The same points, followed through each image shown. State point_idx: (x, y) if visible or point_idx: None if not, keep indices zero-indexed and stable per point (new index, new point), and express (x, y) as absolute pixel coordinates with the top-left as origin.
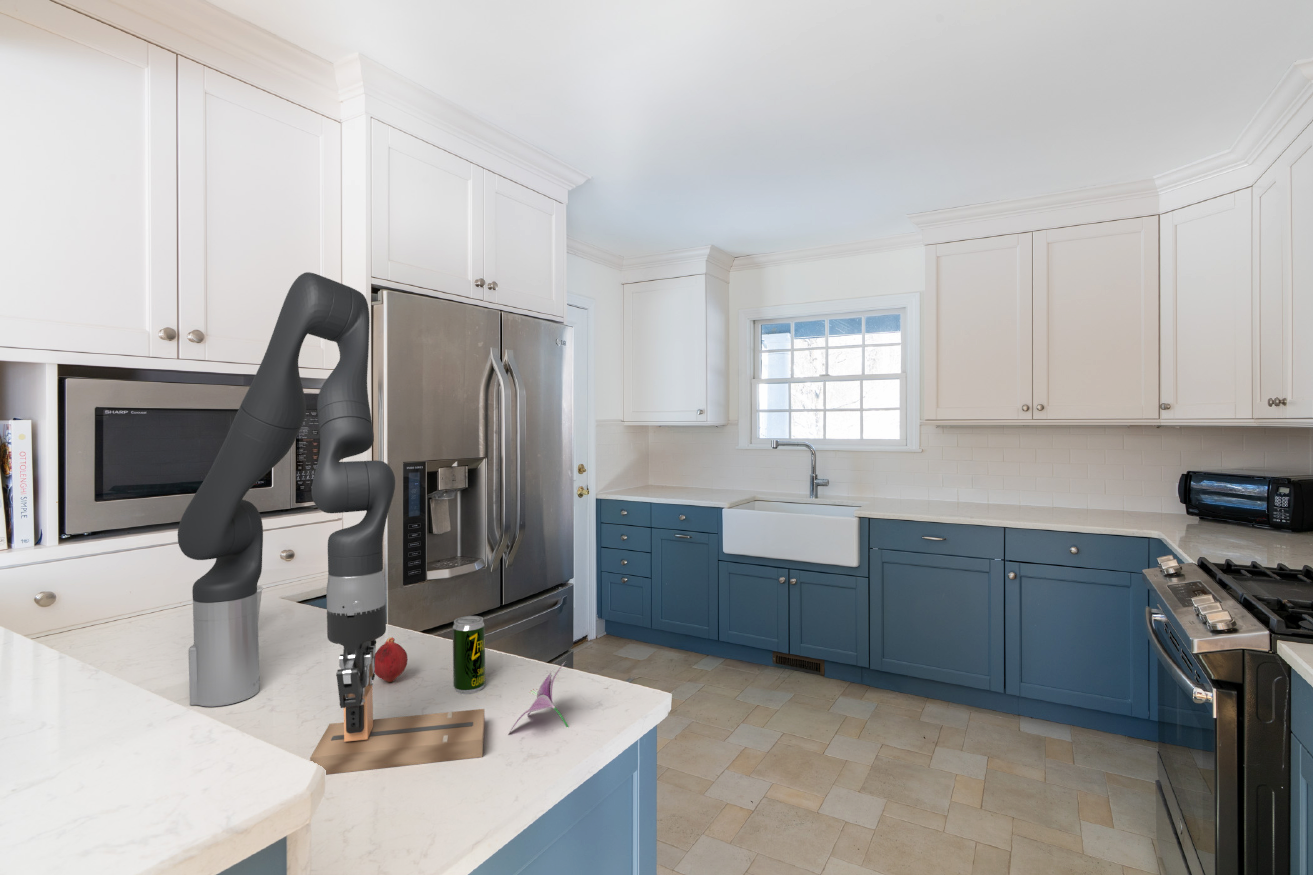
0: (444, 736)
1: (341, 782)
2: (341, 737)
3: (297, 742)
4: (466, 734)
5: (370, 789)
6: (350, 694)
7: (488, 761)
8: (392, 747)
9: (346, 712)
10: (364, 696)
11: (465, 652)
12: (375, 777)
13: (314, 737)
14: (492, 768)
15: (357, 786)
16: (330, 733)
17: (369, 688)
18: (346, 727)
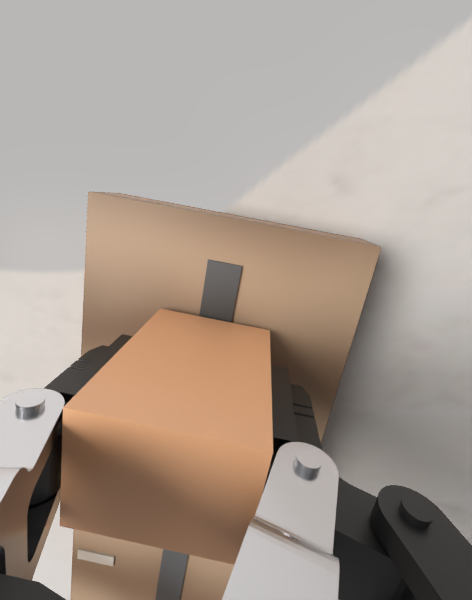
0: (107, 558)
1: (58, 282)
2: (215, 296)
3: (409, 118)
4: (108, 597)
5: (6, 349)
6: (124, 448)
7: (70, 572)
8: None
9: (78, 377)
10: (62, 515)
11: None
12: (62, 363)
13: (420, 181)
14: (39, 571)
15: (27, 321)
16: (277, 254)
17: (188, 548)
18: (117, 340)
